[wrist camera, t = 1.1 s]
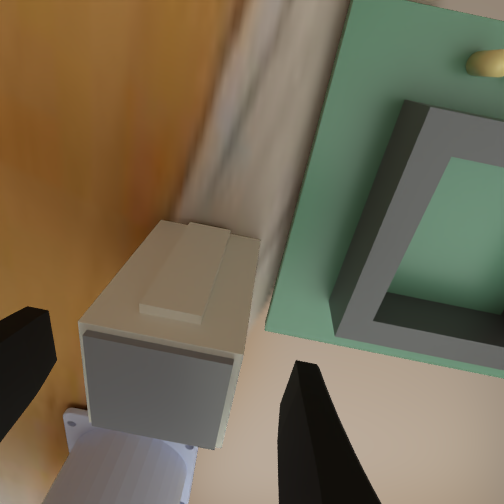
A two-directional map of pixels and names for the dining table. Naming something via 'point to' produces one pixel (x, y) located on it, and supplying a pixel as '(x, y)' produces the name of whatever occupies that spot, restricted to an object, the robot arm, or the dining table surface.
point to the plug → (171, 335)
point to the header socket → (404, 194)
